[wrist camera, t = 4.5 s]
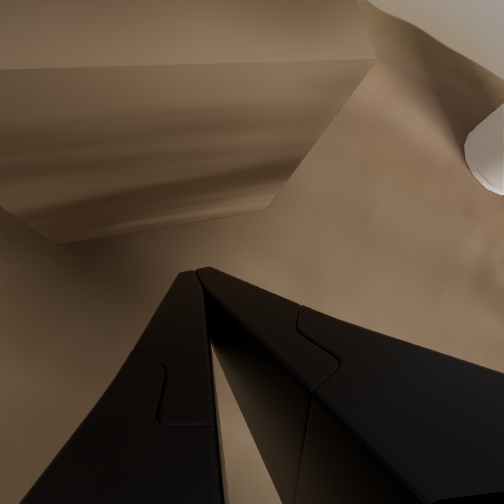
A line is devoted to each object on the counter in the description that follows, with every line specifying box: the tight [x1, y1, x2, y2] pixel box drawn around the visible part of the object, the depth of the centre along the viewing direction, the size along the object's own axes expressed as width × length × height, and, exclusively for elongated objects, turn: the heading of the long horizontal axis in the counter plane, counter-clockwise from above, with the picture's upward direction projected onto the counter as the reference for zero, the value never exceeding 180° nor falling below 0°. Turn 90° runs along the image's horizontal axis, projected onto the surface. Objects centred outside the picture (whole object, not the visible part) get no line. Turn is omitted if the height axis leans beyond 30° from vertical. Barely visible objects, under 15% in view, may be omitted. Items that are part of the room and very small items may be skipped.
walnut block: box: [0, 0, 378, 245], centre depth 13 cm, size 4×12×12 cm, turn 104°
